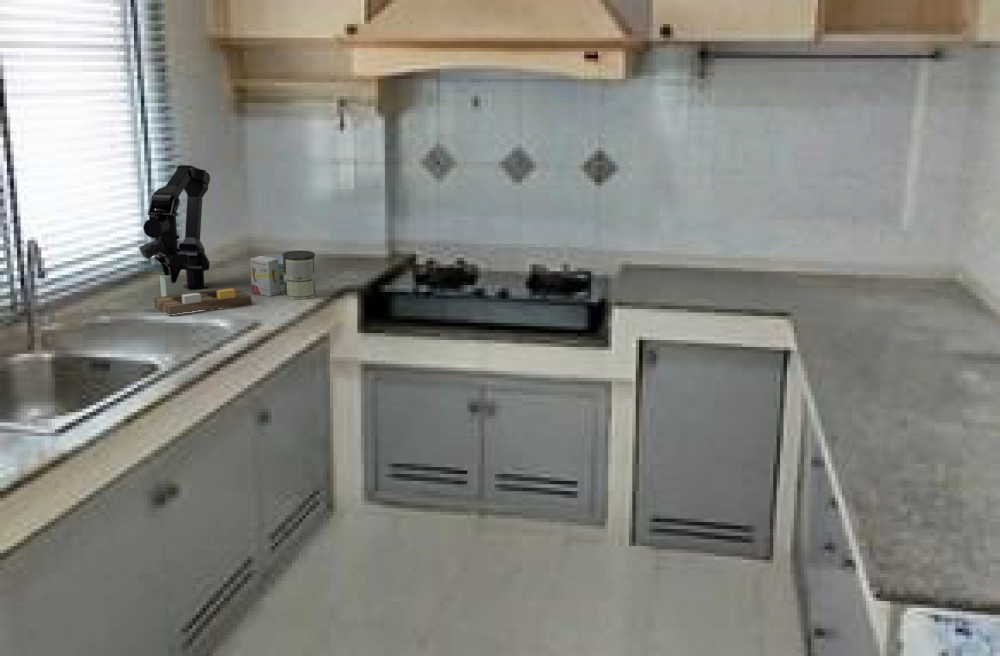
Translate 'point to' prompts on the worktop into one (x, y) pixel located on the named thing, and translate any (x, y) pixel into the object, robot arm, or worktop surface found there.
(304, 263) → the coffee can
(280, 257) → the chinaware
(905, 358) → the worktop surface
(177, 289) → the pale mint cube
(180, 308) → the socket block
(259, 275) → the ink box
